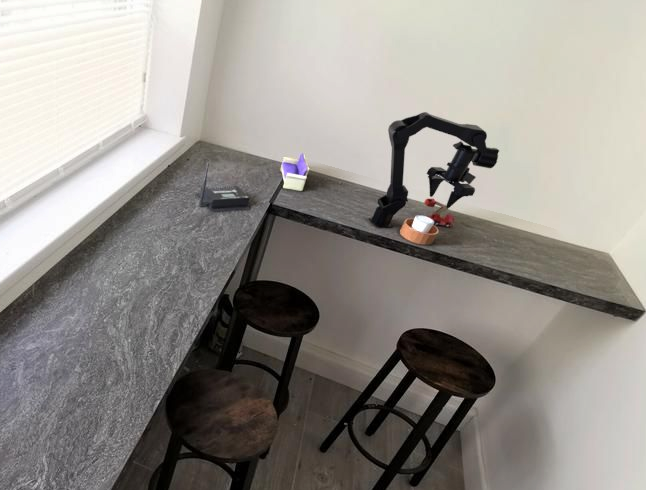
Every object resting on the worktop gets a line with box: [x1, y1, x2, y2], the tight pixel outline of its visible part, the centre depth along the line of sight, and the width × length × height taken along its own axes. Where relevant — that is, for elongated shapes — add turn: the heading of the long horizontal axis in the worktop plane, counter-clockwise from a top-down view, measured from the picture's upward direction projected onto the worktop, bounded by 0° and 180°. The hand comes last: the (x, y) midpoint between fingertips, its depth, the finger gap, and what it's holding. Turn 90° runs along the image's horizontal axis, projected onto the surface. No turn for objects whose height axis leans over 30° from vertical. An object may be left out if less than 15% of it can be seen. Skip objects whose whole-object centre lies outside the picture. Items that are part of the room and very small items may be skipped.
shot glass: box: [411, 214, 435, 233], centre depth 186 cm, size 7×7×7 cm
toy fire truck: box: [424, 198, 455, 228], centre depth 197 cm, size 3×14×10 cm, turn 84°
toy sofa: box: [279, 153, 310, 192], centre depth 213 cm, size 21×9×10 cm, turn 172°
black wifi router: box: [198, 162, 251, 212], centre depth 185 cm, size 20×14×17 cm
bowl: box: [399, 217, 440, 246], centre depth 187 cm, size 12×12×4 cm
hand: (439, 202), depth 185 cm, fingers open, 9 cm apart
